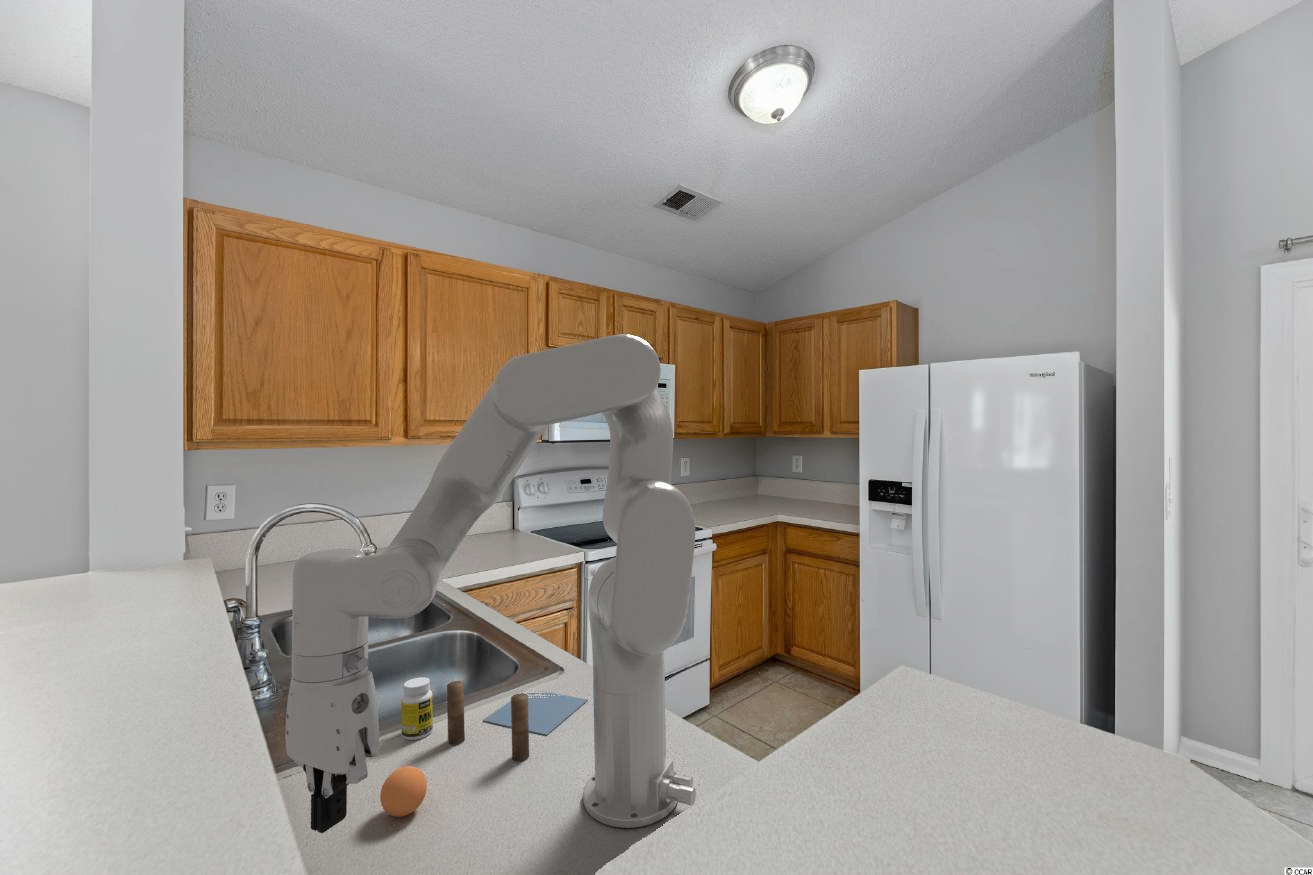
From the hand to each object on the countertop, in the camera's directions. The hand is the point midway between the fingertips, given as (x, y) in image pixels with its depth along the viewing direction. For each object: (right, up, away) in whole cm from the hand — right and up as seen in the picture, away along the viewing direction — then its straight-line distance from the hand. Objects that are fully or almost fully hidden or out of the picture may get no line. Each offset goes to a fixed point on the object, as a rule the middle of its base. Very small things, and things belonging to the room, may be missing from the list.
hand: (328, 823), depth 63 cm
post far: (+5, -5, +26) cm, 27 cm away
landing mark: (+16, -5, +36) cm, 39 cm away
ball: (+4, -2, +9) cm, 10 cm away
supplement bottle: (-2, -5, +29) cm, 29 cm away
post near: (+17, -5, +21) cm, 27 cm away
